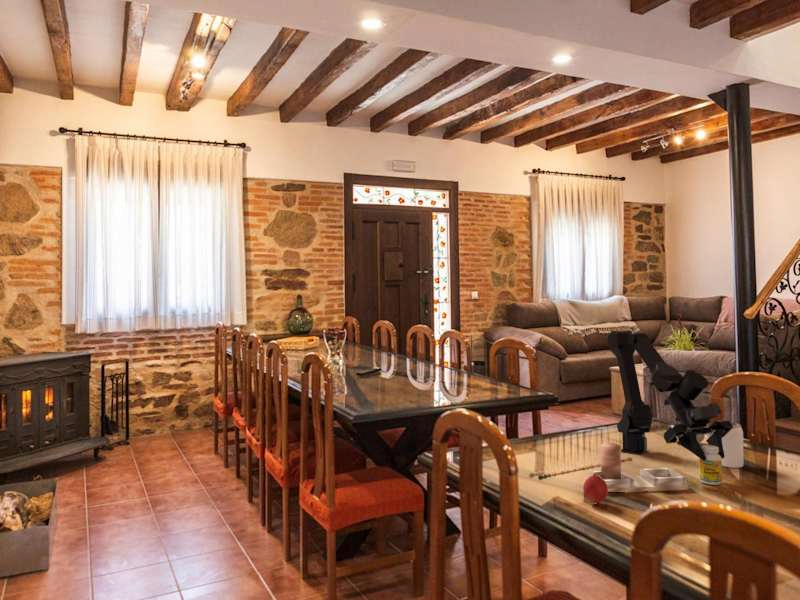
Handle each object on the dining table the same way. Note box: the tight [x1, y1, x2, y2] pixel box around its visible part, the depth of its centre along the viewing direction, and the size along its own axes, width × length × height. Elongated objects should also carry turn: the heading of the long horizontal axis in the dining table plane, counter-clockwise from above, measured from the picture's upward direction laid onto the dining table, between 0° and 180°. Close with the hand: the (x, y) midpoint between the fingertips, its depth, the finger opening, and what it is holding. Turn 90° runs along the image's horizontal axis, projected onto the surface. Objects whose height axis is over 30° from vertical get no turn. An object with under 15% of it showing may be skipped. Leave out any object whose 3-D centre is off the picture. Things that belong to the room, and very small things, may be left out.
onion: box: [582, 473, 609, 504], centre depth 151 cm, size 6×6×8 cm
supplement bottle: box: [698, 444, 723, 486], centre depth 165 cm, size 5×5×10 cm
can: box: [722, 422, 744, 469], centre depth 179 cm, size 6×6×12 cm
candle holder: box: [589, 442, 689, 493], centre depth 163 cm, size 24×9×11 cm, turn 93°
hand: (714, 458), depth 163 cm, fingers closed on supplement bottle, 5 cm apart
